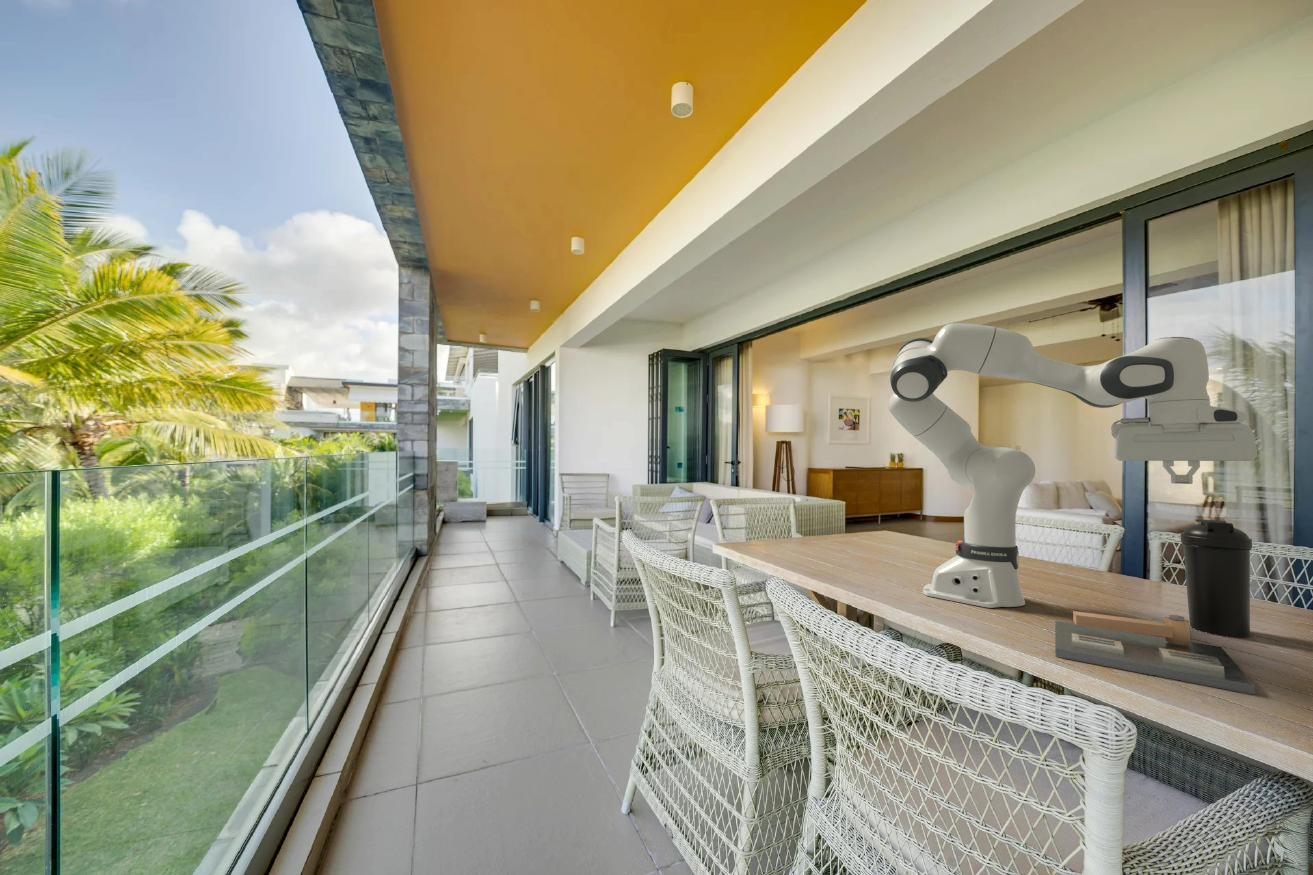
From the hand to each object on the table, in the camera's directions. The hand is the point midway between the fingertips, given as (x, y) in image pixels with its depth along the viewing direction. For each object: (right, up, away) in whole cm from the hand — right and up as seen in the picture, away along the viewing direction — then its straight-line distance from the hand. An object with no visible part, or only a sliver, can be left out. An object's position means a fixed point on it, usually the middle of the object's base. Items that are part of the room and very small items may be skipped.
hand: (1181, 483), depth 103 cm
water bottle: (+11, -32, +3) cm, 33 cm away
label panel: (-19, -31, -11) cm, 38 cm away
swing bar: (-16, -29, -5) cm, 33 cm away
